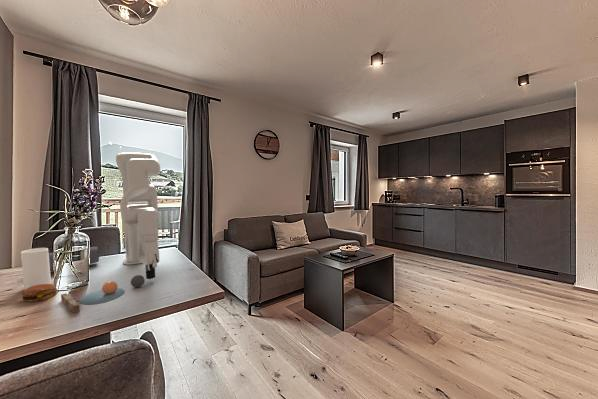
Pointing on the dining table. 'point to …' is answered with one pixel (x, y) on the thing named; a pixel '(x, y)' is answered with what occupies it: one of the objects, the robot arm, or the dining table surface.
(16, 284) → the dining table surface
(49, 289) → the burger
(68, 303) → the stopper wall
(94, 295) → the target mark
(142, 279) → the dark grey sphere
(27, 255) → the cup
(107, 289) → the object ball
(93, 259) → the bluetooth speaker
